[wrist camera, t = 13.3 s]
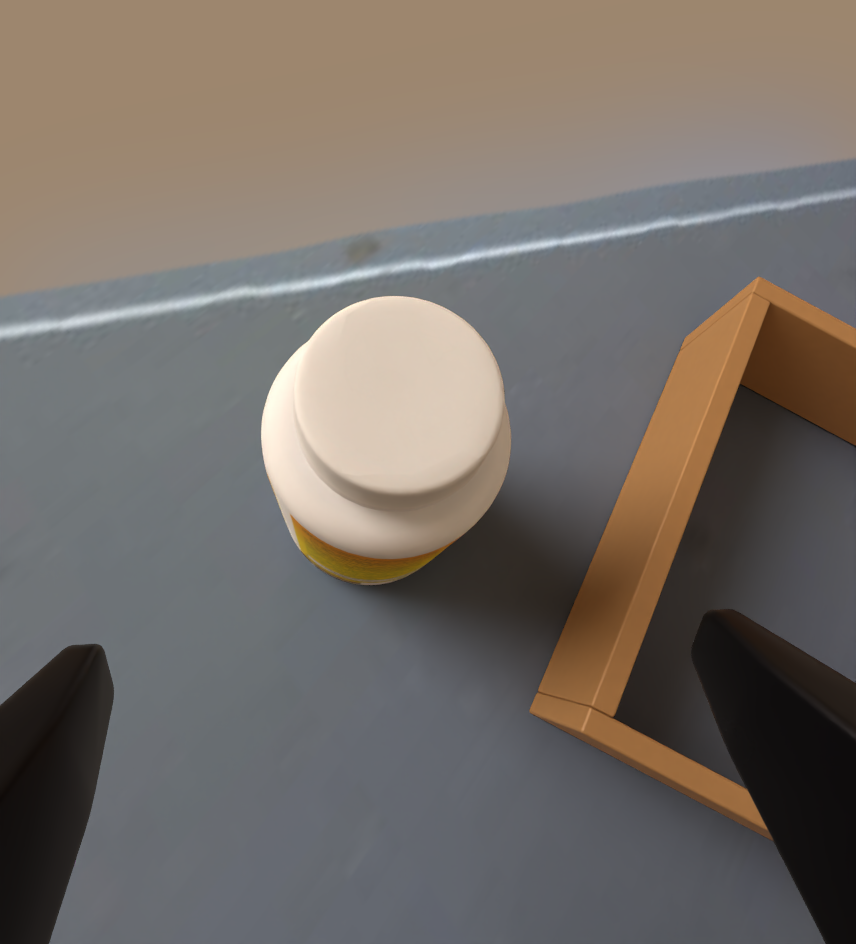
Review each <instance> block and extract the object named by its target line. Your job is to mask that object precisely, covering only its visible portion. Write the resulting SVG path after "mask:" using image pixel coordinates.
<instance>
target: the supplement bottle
mask: <svg viewBox="0 0 856 944" xmlns="http://www.w3.org/2000/svg"><path fill="white" fill-rule="evenodd" d="M261 442H262V451H263V458H264V463H265V468H266V471H267V475H268V478H269V481H270V483H271V486H272V489H273V491H274V494H275V496H276V498H277V501H278V504H279V507H280V509H281V512H282V514H283V517H284V519H285V522H286V524H287V527H288V529H289V531H290V534H291V536H292V538H293V540H294V541H295V543H296V545H297V546H298V548H299V549H300V550H301V552H302V553H303V554H304V555H305V557H306V558H307V559H308V560H309V561H310V562H311V563H312V564H314V565H315V566H316V567H317V568H319V569H320V570H322V571H323V572H325V573H327V574H329V575H330V576H333V577H335V578H337V579H339V580H342V581H345V582H349V583H353V584H360V585H378V584H385V583H390V582H393V581H396V580H399V579H402V578H404V577H406V576H408V575H410V574H412V573H414V572H416V571H417V570H419V569H420V568H422V567H423V566H424V565H426V564H427V563H428V562H429V561H431V560H432V559H433V558H435V557H436V556H437V555H438V554H440V553H441V552H442V551H443V550H445V549H446V548H447V547H448V546H450V545H451V544H452V543H453V542H455V541H456V540H457V539H458V538H460V537H461V536H462V535H463V534H465V533H466V532H467V531H468V530H469V529H470V528H472V527H473V526H474V525H475V524H476V523H477V522H478V521H479V520H480V518H481V517H482V516H483V515H484V514H485V512H486V511H487V510H488V509H489V507H490V506H491V504H492V503H493V501H494V499H495V498H496V496H497V494H498V492H499V490H500V488H501V486H502V484H503V481H504V478H505V476H506V473H507V469H508V465H509V459H510V452H511V430H510V422H509V417H508V412H507V408H506V405H505V398H504V386H503V380H502V376H501V373H500V370H499V367H498V364H497V362H496V359H495V357H494V355H493V354H492V352H491V350H490V348H489V346H488V345H487V344H486V342H485V341H484V340H483V338H482V337H481V336H480V335H479V334H478V333H477V332H476V330H475V329H474V328H473V327H472V326H471V325H469V324H468V323H467V322H466V321H465V320H464V319H462V318H461V317H459V316H458V315H456V314H455V313H453V312H451V311H449V310H448V309H446V308H444V307H442V306H439V305H437V304H434V303H432V302H429V301H425V300H421V299H417V298H412V297H402V296H387V297H377V298H372V299H368V300H365V301H361V302H358V303H355V304H353V305H351V306H349V307H346V308H345V309H343V310H341V311H339V312H338V313H336V314H335V315H333V316H332V317H331V318H330V319H328V320H327V321H326V322H325V323H323V324H322V325H321V326H320V327H319V329H318V330H317V331H316V332H315V333H314V335H313V336H312V337H311V339H310V340H309V341H308V342H307V343H305V344H304V345H303V346H301V347H300V348H299V349H298V350H297V351H296V352H295V353H294V354H293V355H292V357H291V358H290V359H289V360H288V361H287V363H286V364H285V365H284V367H283V368H282V369H281V371H280V372H279V374H278V376H277V377H276V379H275V381H274V383H273V385H272V387H271V389H270V392H269V394H268V397H267V400H266V404H265V408H264V412H263V418H262V429H261Z"/></svg>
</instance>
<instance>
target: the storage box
mask: <svg viewBox="0 0 856 944" xmlns="http://www.w3.org/2000/svg"><path fill="white" fill-rule="evenodd" d="M739 384H742V385H744V386H745V387H747V388H749V389H751V390H753V391H755V392H757V393H758V394H760V395H762V396H764V397H766V398H768V399H770V400H771V401H773V402H775V403H777V404H779V405H781V406H783V407H784V408H786V409H788V410H790V411H792V412H794V413H796V414H797V415H799V416H801V417H803V418H805V419H807V420H809V421H810V422H812V423H814V424H816V425H818V426H820V427H822V428H823V429H825V430H827V431H829V432H831V433H833V434H834V435H836V436H838V437H840V438H842V439H844V440H846V441H847V442H849V443H851V444H853V445H855V446H856V329H855V328H853V327H851V326H850V325H848V324H846V323H844V322H842V321H840V320H839V319H837V318H835V317H833V316H831V315H829V314H828V313H826V312H824V311H822V310H820V309H818V308H816V307H815V306H813V305H811V304H809V303H807V302H805V301H804V300H802V299H800V298H798V297H796V296H794V295H793V294H791V293H789V292H787V291H785V290H783V289H781V288H780V287H778V286H776V285H774V284H772V283H770V282H769V281H767V280H765V279H763V278H761V277H757V278H756V279H755V280H754V281H753V282H751V283H750V284H749V285H748V286H747V287H746V288H744V289H743V290H742V291H741V292H740V293H738V294H737V295H736V296H735V297H734V298H732V299H731V300H730V301H729V302H728V303H726V304H725V305H724V306H723V307H722V308H720V309H719V310H718V311H717V312H716V313H714V314H713V315H712V316H711V317H710V318H708V319H707V320H706V321H705V322H704V323H703V324H701V325H700V326H699V327H698V328H697V329H695V330H694V331H693V332H692V333H691V334H689V335H688V336H687V337H686V338H685V340H684V342H683V344H682V347H681V349H680V352H679V354H678V356H677V359H676V361H675V363H674V366H673V368H672V371H671V373H670V375H669V378H668V380H667V383H666V385H665V387H664V390H663V392H662V394H661V397H660V399H659V402H658V404H657V406H656V409H655V411H654V414H653V416H652V418H651V421H650V423H649V426H648V428H647V430H646V433H645V435H644V437H643V440H642V442H641V445H640V447H639V449H638V452H637V454H636V457H635V459H634V461H633V464H632V466H631V469H630V471H629V473H628V476H627V478H626V481H625V483H624V485H623V488H622V490H621V492H620V495H619V497H618V500H617V502H616V504H615V507H614V509H613V512H612V514H611V516H610V519H609V521H608V524H607V526H606V528H605V531H604V533H603V535H602V538H601V540H600V543H599V545H598V547H597V550H596V552H595V555H594V557H593V559H592V562H591V564H590V567H589V569H588V571H587V574H586V576H585V579H584V581H583V583H582V586H581V588H580V590H579V593H578V595H577V598H576V600H575V602H574V605H573V607H572V610H571V612H570V614H569V617H568V619H567V622H566V624H565V626H564V629H563V631H562V634H561V636H560V638H559V641H558V643H557V645H556V648H555V650H554V653H553V655H552V657H551V660H550V662H549V665H548V667H547V669H546V672H545V674H544V677H543V679H542V681H541V684H540V686H539V688H538V692H539V693H537V694H536V696H535V698H534V701H533V703H532V705H531V708H530V713H531V714H533V715H535V716H537V717H539V718H540V719H542V720H544V721H546V722H548V723H550V724H552V725H554V726H556V727H557V728H559V729H561V730H563V731H565V732H567V733H569V734H571V735H573V736H575V737H576V738H578V739H580V740H582V741H584V742H586V743H588V744H590V745H592V746H594V747H595V748H597V749H599V750H601V751H603V752H605V753H607V754H609V755H611V756H613V757H614V758H616V759H618V760H620V761H622V762H624V763H626V764H628V765H630V766H631V767H633V768H635V769H637V770H639V771H641V772H643V773H645V774H647V775H649V776H650V777H652V778H654V779H656V780H658V781H660V782H662V783H664V784H666V785H668V786H669V787H671V788H673V789H675V790H677V791H679V792H681V793H683V794H685V795H687V796H688V797H690V798H692V799H694V800H696V801H698V802H700V803H702V804H704V805H705V806H707V807H709V808H711V809H713V810H715V811H717V812H719V813H721V814H723V815H724V816H726V817H728V818H730V819H732V820H734V821H736V822H738V823H740V824H742V825H743V826H745V827H747V828H749V829H751V830H753V831H755V832H757V833H759V834H761V835H762V836H764V837H766V838H768V839H770V840H772V841H773V839H772V837H771V835H770V833H769V831H768V829H767V827H766V825H765V823H764V821H763V819H762V818H761V816H760V814H759V812H758V810H757V808H756V806H755V804H754V802H753V800H752V798H751V796H750V794H749V792H748V790H747V789H746V788H744V787H742V786H740V785H739V784H737V783H735V782H733V781H731V780H729V779H727V778H725V777H723V776H721V775H720V774H718V773H716V772H714V771H712V770H710V769H708V768H706V767H704V766H703V765H701V764H699V763H697V762H695V761H693V760H691V759H689V758H687V757H686V756H684V755H682V754H680V753H678V752H676V751H674V750H672V749H670V748H668V747H667V746H665V745H663V744H661V743H659V742H657V741H655V740H653V739H651V738H650V737H648V736H646V735H644V734H642V733H640V732H638V731H636V730H634V729H632V728H631V727H629V726H627V725H625V724H623V723H621V722H619V721H617V720H615V719H614V718H612V717H614V716H615V713H616V711H617V708H618V705H619V703H620V700H621V697H622V695H623V692H624V689H625V687H626V684H627V681H628V679H629V676H630V673H631V671H632V668H633V665H634V663H635V660H636V658H637V655H638V652H639V650H640V647H641V644H642V642H643V639H644V636H645V634H646V631H647V628H648V626H649V623H650V620H651V618H652V615H653V612H654V610H655V607H656V604H657V602H658V599H659V596H660V594H661V591H662V589H663V586H664V583H665V581H666V578H667V575H668V573H669V570H670V567H671V565H672V562H673V559H674V557H675V554H676V551H677V549H678V546H679V543H680V541H681V538H682V535H683V533H684V530H685V528H686V525H687V522H688V520H689V517H690V514H691V512H692V509H693V506H694V504H695V501H696V498H697V496H698V493H699V490H700V488H701V485H702V482H703V480H704V477H705V474H706V472H707V469H708V466H709V464H710V461H711V459H712V456H713V453H714V451H715V448H716V445H717V443H718V440H719V437H720V435H721V432H722V429H723V427H724V424H725V421H726V419H727V416H728V413H729V411H730V408H731V405H732V403H733V400H734V397H735V395H736V392H737V390H738V387H739Z"/></svg>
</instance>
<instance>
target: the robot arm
mask: <svg viewBox="0 0 856 944" xmlns="http://www.w3.org/2000/svg"><path fill="white" fill-rule="evenodd" d="M691 656H692V661H693V664H694V667H695V669H696V672H697V674H698V677H699V680H700V682H701V685H702V687H703V690H704V692H705V695H706V697H707V700H708V702H709V705H710V708H711V710H712V713H713V715H714V718H715V720H716V723H717V725H718V728H719V730H720V733H721V736H722V738H723V740H724V743H725V745H726V747H727V750H728V752H729V754H730V756H731V758H732V760H733V762H734V764H735V766H736V768H737V770H738V772H739V774H740V776H741V778H742V780H743V782H744V784H745V786H746V788H747V790H748V792H749V794H750V796H751V798H752V800H753V802H754V804H755V806H756V808H757V810H758V812H759V814H760V816H761V818H762V819H763V821H764V823H765V825H766V827H767V829H768V831H769V833H770V835H771V837H772V839H773V841H774V843H775V845H776V847H777V849H778V851H779V853H780V855H781V857H782V859H783V861H784V863H785V865H786V867H787V868H788V870H789V872H790V874H791V876H792V878H793V880H794V882H795V884H796V886H797V888H798V890H799V892H800V894H801V896H802V898H803V900H804V902H805V904H806V906H807V908H808V910H809V912H810V914H811V916H812V917H813V919H814V921H815V923H816V925H817V927H818V929H819V931H820V933H821V935H822V937H823V939H824V941H825V943H826V944H856V683H855V682H853V681H851V680H850V679H848V678H846V677H845V676H843V675H841V674H840V673H838V672H836V671H835V670H833V669H832V668H830V667H828V666H827V665H825V664H823V663H822V662H820V661H818V660H817V659H815V658H813V657H812V656H810V655H808V654H807V653H805V652H803V651H802V650H800V649H799V648H797V647H795V646H794V645H792V644H790V643H789V642H787V641H785V640H784V639H782V638H780V637H779V636H777V635H775V634H774V633H772V632H770V631H769V630H767V629H765V628H764V627H762V626H761V625H759V624H757V623H756V622H754V621H752V620H751V619H749V618H747V617H746V616H744V615H742V614H741V613H739V612H737V611H735V610H732V609H720V610H710V611H707V612H706V613H705V614H704V616H703V618H702V621H701V623H700V626H699V629H698V631H697V634H696V637H695V639H694V642H693V645H692V650H691ZM113 698H114V687H113V682H112V678H111V674H110V670H109V667H108V663H107V659H106V655H105V652H104V649H103V648H102V646H100V645H98V644H85V645H72V646H68V647H67V648H65V649H64V650H62V651H61V652H60V653H59V654H58V655H57V656H56V657H54V658H53V659H52V660H51V661H50V662H49V663H48V664H47V665H45V666H44V667H43V668H42V669H41V670H40V671H39V672H38V673H36V674H35V675H34V676H33V677H32V678H31V679H30V680H29V681H27V682H26V683H25V684H24V685H23V686H22V687H21V688H19V689H18V690H17V691H16V692H15V693H14V694H13V695H12V696H10V697H9V698H8V699H7V700H6V701H5V702H4V703H3V704H1V705H0V944H49V941H50V938H51V935H52V932H53V929H54V926H55V923H56V920H57V916H58V913H59V910H60V907H61V904H62V901H63V898H64V895H65V892H66V888H67V885H68V882H69V879H70V876H71V873H72V870H73V867H74V864H75V860H76V857H77V854H78V851H79V848H80V845H81V842H82V839H83V836H84V832H85V829H86V826H87V822H88V819H89V815H90V812H91V808H92V803H93V799H94V794H95V789H96V784H97V779H98V774H99V769H100V765H101V760H102V755H103V750H104V745H105V740H106V735H107V730H108V725H109V720H110V715H111V710H112V705H113Z"/></svg>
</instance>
